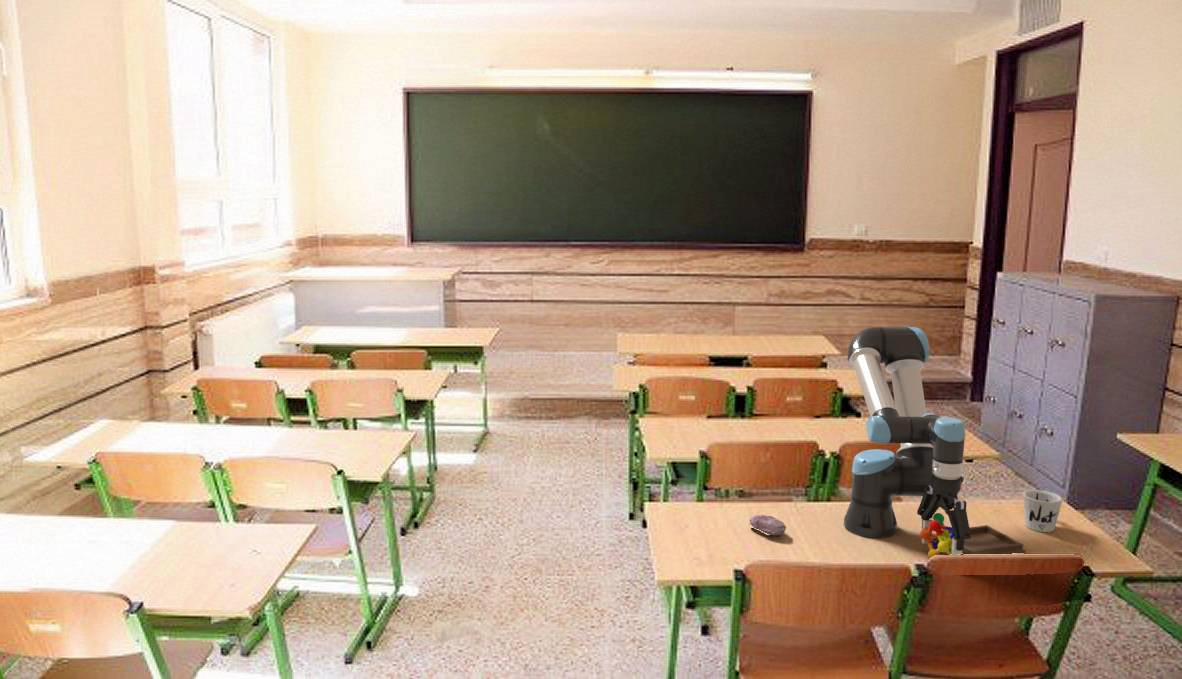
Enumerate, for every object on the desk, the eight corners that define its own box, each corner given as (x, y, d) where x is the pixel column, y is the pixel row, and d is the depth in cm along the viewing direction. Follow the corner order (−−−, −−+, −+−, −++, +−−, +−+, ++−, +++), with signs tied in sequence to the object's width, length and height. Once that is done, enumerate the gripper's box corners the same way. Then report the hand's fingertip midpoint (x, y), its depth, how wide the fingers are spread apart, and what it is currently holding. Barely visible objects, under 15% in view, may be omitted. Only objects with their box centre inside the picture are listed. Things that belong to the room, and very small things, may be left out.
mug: (1023, 532, 245) (1026, 500, 243) (1014, 513, 259) (1016, 483, 257) (1063, 536, 242) (1066, 503, 240) (1051, 517, 256) (1054, 486, 254)
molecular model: (965, 567, 222) (967, 525, 220) (940, 569, 221) (942, 527, 219) (941, 550, 233) (943, 510, 232) (917, 551, 232) (919, 512, 231)
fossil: (771, 543, 238) (771, 526, 238) (741, 526, 251) (741, 510, 250) (793, 537, 242) (793, 520, 241) (762, 521, 255) (762, 505, 254)
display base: (934, 538, 241) (935, 530, 240) (983, 531, 245) (984, 523, 245) (973, 561, 225) (974, 553, 225) (1025, 554, 230) (1025, 545, 229)
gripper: (906, 463, 233) (902, 535, 237) (965, 491, 211) (959, 571, 215) (929, 460, 235) (924, 532, 239) (990, 488, 213) (983, 568, 217)
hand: (941, 551), depth 227 cm, fingers closed on molecular model, 11 cm apart
